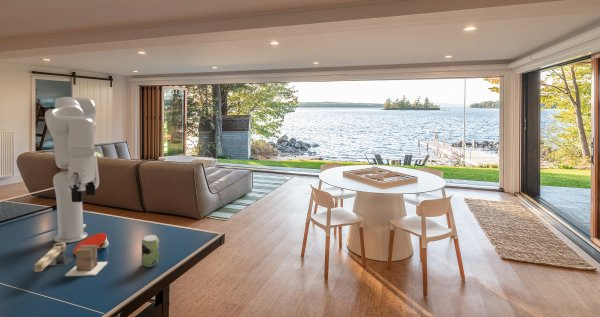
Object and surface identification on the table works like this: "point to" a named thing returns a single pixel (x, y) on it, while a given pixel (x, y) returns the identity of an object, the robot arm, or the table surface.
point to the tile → (86, 273)
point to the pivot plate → (60, 262)
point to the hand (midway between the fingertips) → (84, 198)
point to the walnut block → (86, 258)
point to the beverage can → (150, 250)
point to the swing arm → (51, 256)
